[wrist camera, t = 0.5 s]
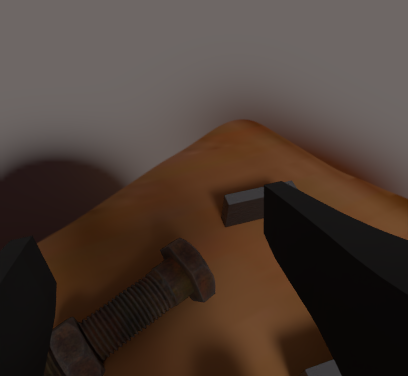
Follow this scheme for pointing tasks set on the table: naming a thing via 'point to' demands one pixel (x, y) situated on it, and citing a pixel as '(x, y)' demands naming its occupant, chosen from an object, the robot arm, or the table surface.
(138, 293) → the bolt
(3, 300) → the robot arm
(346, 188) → the table surface
